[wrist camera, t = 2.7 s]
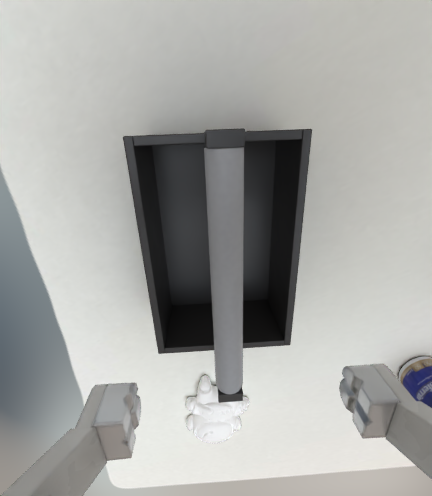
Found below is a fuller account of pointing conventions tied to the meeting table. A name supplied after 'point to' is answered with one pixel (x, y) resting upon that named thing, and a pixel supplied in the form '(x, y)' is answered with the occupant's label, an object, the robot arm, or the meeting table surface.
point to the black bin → (220, 239)
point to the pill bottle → (418, 379)
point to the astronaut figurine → (213, 414)
